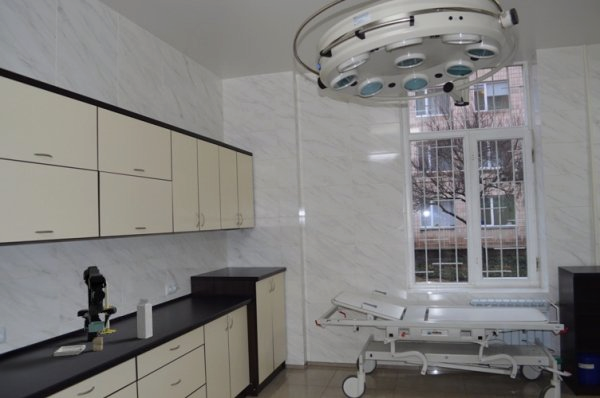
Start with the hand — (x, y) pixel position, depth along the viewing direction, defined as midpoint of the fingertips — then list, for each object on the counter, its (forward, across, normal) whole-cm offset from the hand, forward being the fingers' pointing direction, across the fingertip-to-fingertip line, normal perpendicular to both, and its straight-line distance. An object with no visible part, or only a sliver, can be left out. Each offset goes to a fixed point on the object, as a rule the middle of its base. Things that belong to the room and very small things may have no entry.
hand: (97, 328), depth 244 cm
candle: (+12, -5, +42) cm, 44 cm away
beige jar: (+12, 0, 0) cm, 12 cm away
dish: (+11, -14, 0) cm, 18 cm away
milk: (+12, +21, +20) cm, 31 cm away
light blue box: (+1, 0, 0) cm, 1 cm away
